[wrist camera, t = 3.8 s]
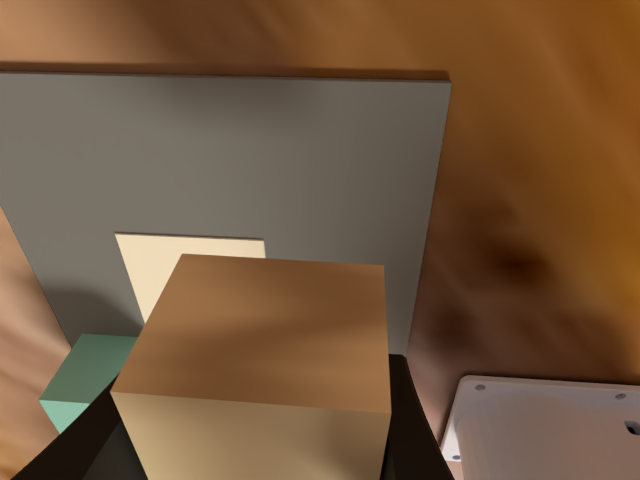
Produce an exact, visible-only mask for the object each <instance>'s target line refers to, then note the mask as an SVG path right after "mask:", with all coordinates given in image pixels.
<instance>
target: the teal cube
mask: <svg viewBox="0 0 640 480" xmlns="http://www.w3.org/2000/svg"><path fill="white" fill-rule="evenodd" d="M137 339H138V337H129V336H112V335H96V334H81V336H80V337H79V339H78V340H77V342H76V343H75V345H74V346H73V348H72V350H71V351H70V353H69V354H68V356H67V357H66V359H65V360H64V362H63V363H62V365H61V366H60V368H59V369H58V371H57V372H56V374H55V376H54V377H53V379H52V380H51V382H50V383H49V385H48V386H47V388H46V389H45V391H44V392H43V394H42V395H41V397H40V398H39V402H40V403H41V405H42V406H43V408H44V410H45V411H46V413H47V414H48V416H49V418H50V419H51V421H52V422H53V424H54V425H55V427H56V429H57V430H58V432H59V433H60V434H61V433H62V432H63V431H64V430H65V429H66V428H67V427H68V426H69V425H70V424H71V423H72V422H73V421H74V420H75V419H76V418H77V417H78V416H79V415H80V414H81V413H82V412H83V411H84V410H85V409H86V408H87V407H88V406H89V405H90V404H91V402H92V401H93V400H94V399H95V398H96V397H97V396H98V395H99V394H100V393H101V392H102V391H103V390H104V389H105V388H106V387H107V386H108V385H109V383H110V382H111V381H112V380H113V379H114V378H115V377H116V376H117V375H118V374H119V372H120V371H121V369H122V368H123V366H124V364H125V362H126V360H127V358H128V356H129V354H130V352H131V350H132V348H133V346H134V345H135V343H136V341H137Z"/></svg>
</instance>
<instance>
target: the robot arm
mask: <svg viewBox="0 0 640 480" xmlns="http://www.w3.org/2000/svg"><path fill="white" fill-rule="evenodd" d="M388 357H389V376H390V396H391V419H390V424H389V430H388V435H387V441H386V446H385V452H384V457H383V463H382V468H381V474H380V479H379V480H455V479H454V477H453V475H452V473H451V471H450V469H449V467H448V465H447V463H446V461H445V460H447V461H459V462H461V464H462V470H463V476H464V480H640V386H634V385H618V384H602V383H586V382H570V381H554V380H538V379H522V378H506V377H490V376H475V375H467V376H464V377H463V378H461V380H460V382H459V385H458V389H457V392H456V395H455V399H454V402H453V406H452V409H451V413H450V416H449V419H448V423H447V426H446V430H445V433H444V437H443V440H442V443H441V447H440V448H439V446H438V444H437V442H436V439H435V437H434V435H433V432H432V430H431V428H430V426H429V423H428V421H427V418H426V416H425V413H424V411H423V408H422V406H421V403H420V400H419V398H418V395H417V392H416V389H415V387H414V384H413V381H412V377H411V374H410V371H409V367H408V363H407V359H406V357H404V356H403V355H401V354H388ZM119 373H120V372H119ZM118 375H119V374H118ZM118 375H117V376H116V377H115V378H114V379H113V380H112V381H111V382H110V383H109V385H108V386H107V387H106V388H105V389H104V390H103V391H102V392H101V393H100V394H99V395H98V396H97V397H96V398H95V399H94V400H93V401H92V402H91V404H90V405H89V406H88V407H87V408H86V409H85V410H84V411H83V412H82V413H81V414H80V415H79V416H78V417H77V418H76V419H75V420H74V421H73V422H72V423H71V424H70V425H69V426H68V427H67V428H66V429H65V430H64V431H63V432H62V433H61V434H60V435H59V436H58V437H57V438H55V439H54V440H53V441H52V442H51V443H50V444H49V445H48V446H47V447H46V448H45V449H44V450H43V451H42V452H41V453H40V454H39V455H37V456H36V457H35V458H34V459H33V460H32V461H31V462H30V463H29V464H28V465H26V466H25V467H24V468H23V469H22V470H21V471H20V472H18V473H17V474H16V475H15V476H14V477H13V478H11V479H10V480H148V477H147V475H146V473H145V471H144V468H143V466H142V464H141V461H140V459H139V457H138V455H137V452H136V450H135V448H134V445H133V443H132V441H131V439H130V436H129V434H128V432H127V430H126V427H125V425H124V423H123V420H122V418H121V416H120V414H119V411H118V409H117V407H116V404H115V402H114V400H113V398H112V395H111V393H110V391H111V389H112V387H113V385H114V383H115V381H116V379H117V377H118Z"/></svg>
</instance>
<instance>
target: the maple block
mask: <svg viewBox="0 0 640 480" xmlns="http://www.w3.org/2000/svg"><path fill="white" fill-rule="evenodd" d="M110 393H111V395H112V398H113V400H114V402H115V404H116V407H117V409H118V411H119V414H120V416H121V418H122V420H123V423H124V425H125V427H126V430H127V432H128V434H129V436H130V439H131V441H132V443H133V445H134V448H135V450H136V452H137V455H138V457H139V459H140V461H141V464H142V466H143V468H144V471H145V473H146V475H147V477H148V480H379V479H380V474H381V468H382V463H383V457H384V452H385V446H386V441H387V435H388V430H389V424H390V419H391V396H390V376H389V357H388V337H387V318H386V298H385V278H384V265H370V264H354V263H337V262H320V261H303V260H286V259H269V258H252V257H235V256H218V255H201V254H184V253H182V254H181V256H180V258H179V260H178V262H177V264H176V266H175V268H174V270H173V272H172V274H171V275H170V277H169V279H168V281H167V283H166V285H165V287H164V289H163V291H162V293H161V295H160V297H159V298H158V300H157V302H156V304H155V306H154V308H153V310H152V312H151V314H150V316H149V318H148V320H147V322H146V323H145V325H144V327H143V329H142V331H141V333H140V335H139V337H138V339H137V341H136V343H135V345H134V346H133V348H132V350H131V352H130V354H129V356H128V358H127V360H126V362H125V364H124V366H123V368H122V369H121V371H120V373H119V375H118V377H117V379H116V381H115V383H114V385H113V387H112V389H111V391H110Z"/></svg>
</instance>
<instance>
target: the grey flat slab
mask: <svg viewBox="0 0 640 480" xmlns="http://www.w3.org/2000/svg"><path fill="white" fill-rule="evenodd" d="M451 88H452V82H451V81H447V80H401V79H355V78H308V77H262V76H216V75H170V74H124V73H78V72H32V71H0V205H1V207H2V209H3V211H4V213H5V215H6V217H7V219H8V222H9V224H10V226H11V228H12V230H13V232H14V234H15V236H16V238H17V240H18V242H19V244H20V246H21V248H22V250H23V252H24V254H25V256H26V258H27V260H28V262H29V264H30V266H31V268H32V270H33V272H34V274H35V276H36V278H37V280H38V282H39V284H40V286H41V288H42V290H43V292H44V294H45V296H46V298H47V300H48V302H49V304H50V306H51V308H52V310H53V312H54V314H55V316H56V318H57V320H58V322H59V324H60V326H61V328H62V330H63V332H64V334H65V336H66V338H67V340H68V342H69V344H70V346H71V348H73V346H74V345H75V343H76V342H77V340H78V339H79V337H80V336H81V334H96V335H112V336H129V337H139V335H140V333H141V331H142V329H143V327H144V325H145V323H146V322H147V320H148V318H149V316H150V314H151V312H152V310H153V308H154V306H155V304H156V302H157V300H158V298H159V297H160V295H161V293H162V291H163V289H164V287H165V285H166V283H167V281H168V279H169V277H170V275H171V274H172V272H173V270H174V268H175V266H176V264H177V262H178V260H179V258H180V256H181V254H182V253H184V254H201V255H218V256H235V257H252V258H269V259H286V260H303V261H320V262H337V263H354V264H370V265H384V278H385V298H386V318H387V337H388V354H401V355H403V356H404V357H406V354H407V348H408V342H409V336H410V330H411V324H412V318H413V312H414V306H415V300H416V295H417V289H418V283H419V277H420V271H421V265H422V259H423V253H424V247H425V241H426V235H427V229H428V224H429V218H430V212H431V206H432V200H433V194H434V188H435V182H436V176H437V170H438V164H439V158H440V153H441V147H442V141H443V135H444V129H445V123H446V117H447V111H448V105H449V99H450V93H451Z"/></svg>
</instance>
